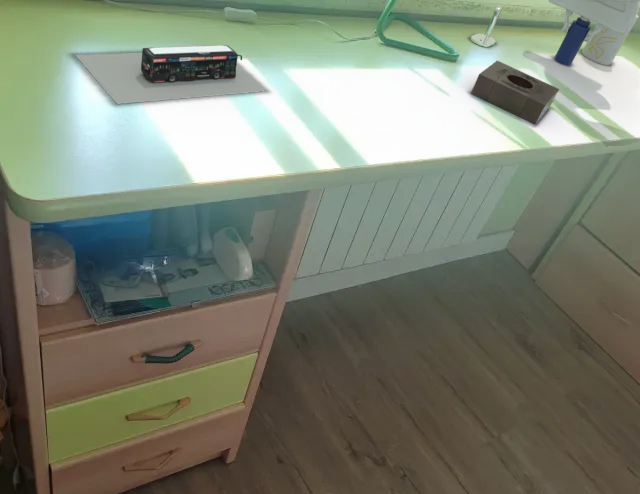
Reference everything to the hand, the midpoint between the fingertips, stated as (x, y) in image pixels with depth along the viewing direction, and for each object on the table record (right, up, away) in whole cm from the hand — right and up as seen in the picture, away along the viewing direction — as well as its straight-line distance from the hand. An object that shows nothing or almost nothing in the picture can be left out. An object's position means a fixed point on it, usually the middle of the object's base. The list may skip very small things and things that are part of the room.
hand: (575, 36), depth 146 cm
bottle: (-1, -4, +4) cm, 6 cm away
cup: (+11, +1, +14) cm, 18 cm away
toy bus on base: (-84, -30, -51) cm, 103 cm away
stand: (-22, -1, 0) cm, 23 cm away
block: (-23, -24, -23) cm, 41 cm away
